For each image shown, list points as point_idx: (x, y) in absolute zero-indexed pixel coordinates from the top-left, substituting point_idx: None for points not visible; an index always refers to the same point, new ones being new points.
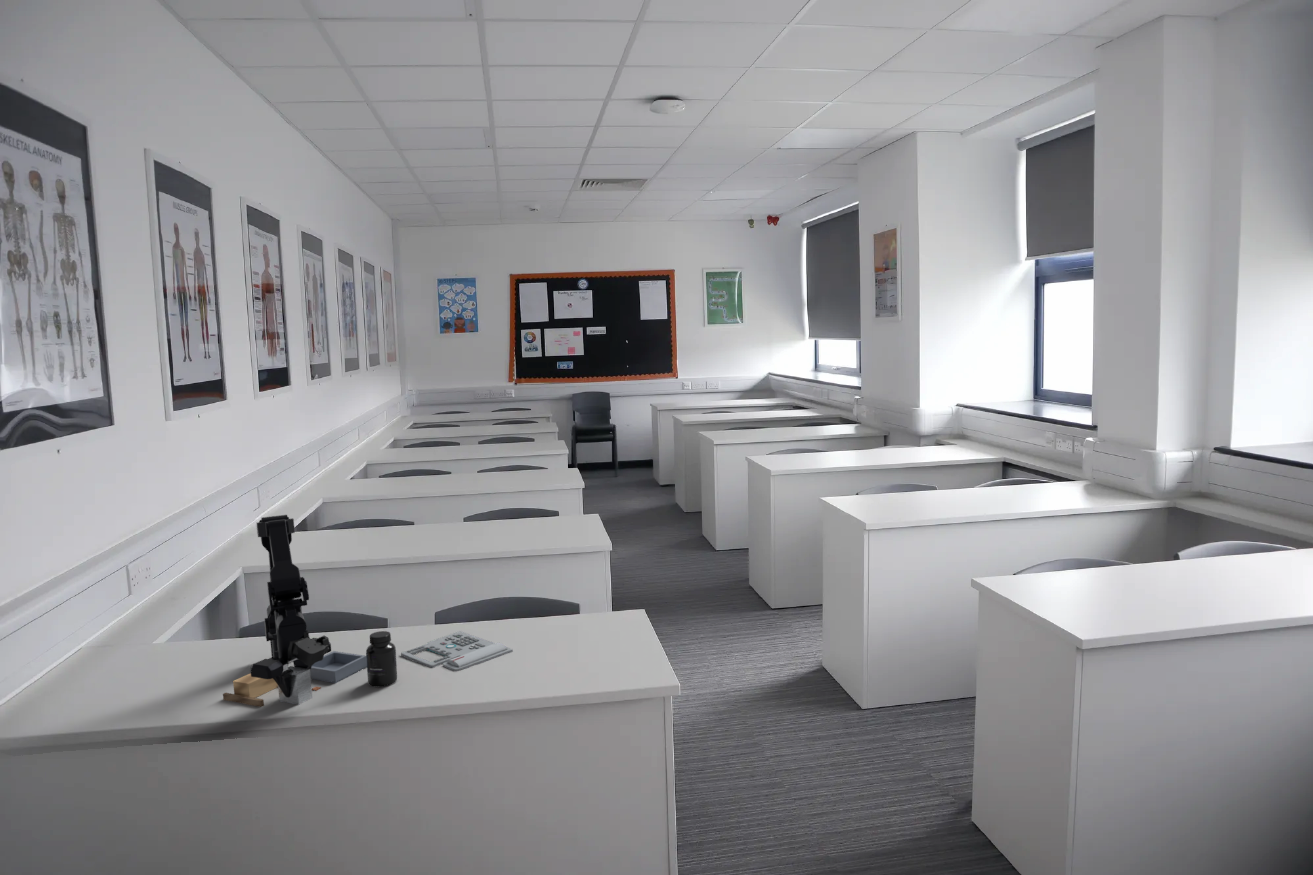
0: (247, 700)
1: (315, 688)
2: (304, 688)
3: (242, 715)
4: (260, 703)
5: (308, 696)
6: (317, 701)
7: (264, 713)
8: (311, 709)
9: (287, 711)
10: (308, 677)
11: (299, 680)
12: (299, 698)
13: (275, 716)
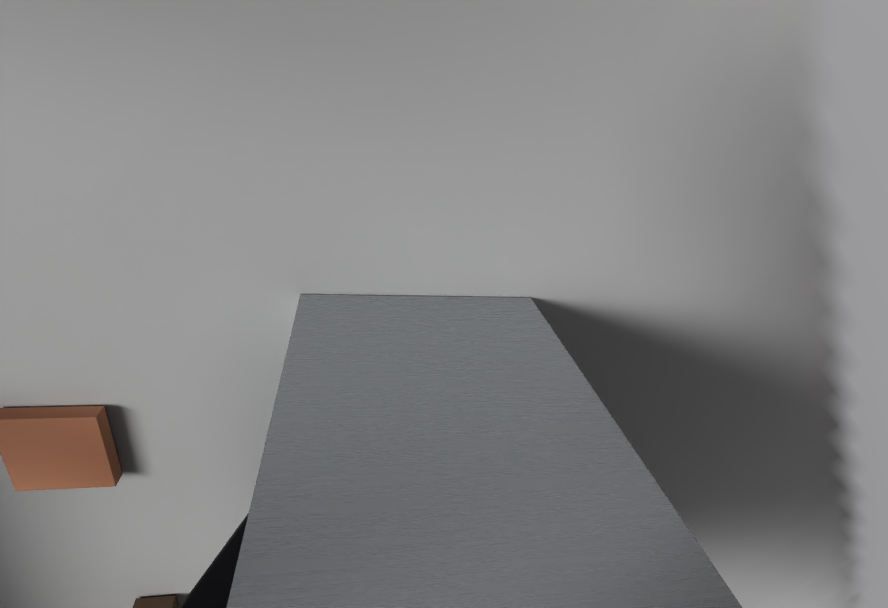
0: None
1: (67, 454)
2: (450, 414)
3: (768, 554)
4: None
5: (367, 318)
6: (368, 133)
7: (743, 452)
8: (645, 2)
9: (706, 290)
10: (317, 597)
11: (652, 606)
12: (537, 339)
13: (823, 315)
